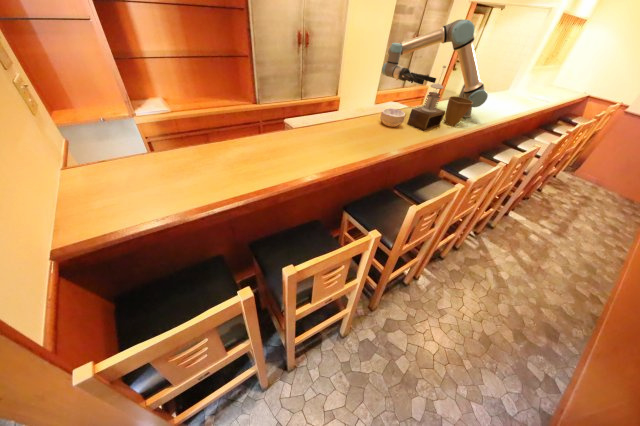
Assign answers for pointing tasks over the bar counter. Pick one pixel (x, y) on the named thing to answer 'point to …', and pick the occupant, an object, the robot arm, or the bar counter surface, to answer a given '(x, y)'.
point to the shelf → (425, 118)
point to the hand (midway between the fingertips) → (429, 81)
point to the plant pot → (456, 109)
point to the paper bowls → (392, 117)
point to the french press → (432, 98)
